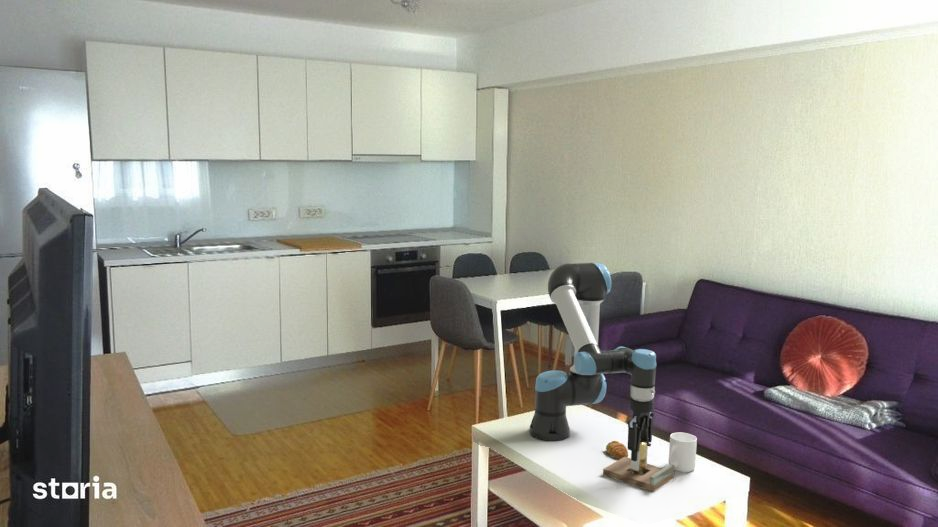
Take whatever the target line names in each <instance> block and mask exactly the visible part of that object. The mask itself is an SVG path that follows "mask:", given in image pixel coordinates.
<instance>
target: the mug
mask: <svg viewBox="0 0 938 527" xmlns="http://www.w3.org/2000/svg"><path fill="white" fill-rule="evenodd" d="M697 441H698V438H697V436H696V435H693V434H691V433H687V432H681V431H680V432H673V433H671V434H670V436H669V451H668V465H669V464H673V465H674V471H676V472H678V473H679V472H680V473H689V472H692V471H695V468H696V462H697V461H696V458H697V457H696V455H697V443H698V442H697Z"/></svg>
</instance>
